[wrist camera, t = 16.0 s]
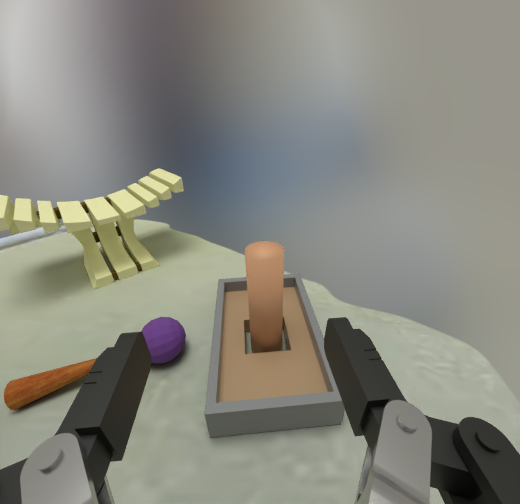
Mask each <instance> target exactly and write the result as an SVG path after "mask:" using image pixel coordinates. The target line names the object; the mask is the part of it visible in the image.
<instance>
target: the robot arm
mask: <svg viewBox="0 0 520 504" xmlns="http://www.w3.org/2000/svg"><path fill="white" fill-rule="evenodd" d="M324 350H325V355H326V358H327V361H328V363H329V366H330V369H331V372H332V374H333V377H334V380H335V383H336V385H337V388H338V391H339V394H340V396H341V399H342V402H343V405H344V408H345V410H346V413H347V416H348V419H349V421H350V424H351V427H352V430H353V432H354V435H355V436H362V435H364V436H365V439H366V441H367V444H368V447H367V450H366V455H365V459H364V464H363V468H362V473H361V477H360V481H359V486H358V490H357V495H356V499H355V503H354V504H430V503H429V495H430V487H433V488H436V489H438V490H439V492H440V494H441V497H442V499H443V501H444V503H445V504H520V454H519V453H518V452H517V451H516V449H515V448H514V447H513V445H512V444H511V443H510V441H509V440H508V439H507V438H506V436H505V435H504V434H503V433H502V432H500V431H499V430H498V429H497V428H496V427H494V426H493V425H491V424H490V423H488V422H486V421H484V420H481V419H479V418H474V417H467V418H464V419H463V420H462V421H461V422H460V423H459V424H455V423H451V422H447V421H443V420H439V419H435V418H431V417H428V416H426V415H424V414H423V413H422V412H421V411H420V410H419V409H418V408H417V407H415V406H414V405H412V404H410V403H408V402H407V401H406V399H405V398H404V396H403V395H402V393H401V391H400V390H399V388H398V386H397V384H396V383H395V381H394V379H393V377H392V376H391V374H390V372H389V371H388V369H387V367H386V365H385V364H384V362H383V360H381V357H380V355H379V353H378V351H376V348H375V346H374V344H373V343H372V341H371V339H370V338H369V337H368V336H367V335H366V334H365V333H364V332H363V331H362V330H361V329H353V328H352V326H351V324H350V322H349V321H348V319H347V318H346V317H343V318H329V319H328V321H327V327H326V332H325V338H324ZM150 368H151V354H150V351H149V349H148V346H147V343H146V340H145V337H144V335H143V333H142V332H132V333H122V334H121V335H120V336H119V338H118V340H117V342H116V344H115V346H114V347H110V348H107V349H106V350H105V351H104V352H103V353H102V354H101V355H100V356H99V357H98V358H97V359H96V361H95V362H94V364H93V366H92V368H91V370H90V372H89V375H87V377H86V379H85V381H84V385H83V386H82V387H81V389H80V390H79V392H78V394H77V396H76V398H75V400H74V402H73V403H72V405H71V407H70V409H69V411H68V413H67V415H66V417H65V418H64V420H63V422H62V424H61V426H60V428H59V429H58V431H57V433H56V434H55V435H54V436H53V437H51V438H49V439H48V440H46V441H45V442H43V443H42V444H41V445H40V446H38V447H37V448H36V449H35V450H34V451H33V453H32V454H31V455H30V456H29V458H26V459H24V460H22V461H20V462H17V463H15V464H13V465H10V466H8V467H6V468H3V469H1V470H0V504H115V503H114V499H113V496H112V493H111V489H110V486H109V483H108V480H107V477H106V473H107V470H108V467H109V464H110V462H111V461H120V460H122V458H123V455H124V452H125V449H126V445H127V442H128V439H129V436H130V433H131V429H132V426H133V423H134V420H135V417H136V413H137V410H138V407H139V404H140V401H141V397H142V394H143V391H144V388H145V385H146V381H147V378H148V375H149V372H150Z"/></svg>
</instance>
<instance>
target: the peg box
mask: <svg viewBox="0 0 520 504" xmlns="http://www.w3.org/2000/svg"><path fill="white" fill-rule="evenodd" d="M282 329H284V333H285V338H286V343H287V347H288V350H287V351H276V352H264V353H253V354H246V349H245V332H250V321H249V306H248V291H247V277H245V278H231V279H219V281H218V291H217V300H216V310H215V319H214V329H213V339H212V348H211V358H210V367H209V377H208V386H207V396H206V406H205V418H206V422H207V426H208V430H209V434H210V438H213V437H223V436H232V435H242V434H251V433H261V432H271V431H280V430H290V429H300V428H309V427H319V426H328V425H338V424H341V422H342V418H343V414H344V411H345V408H344V405H343V402H342V399H341V396H340V394H339V391H338V388H337V385H336V383H335V380H334V377H333V374H332V372H331V369H330V366H329V363H328V361H327V358H326V355H325V350H324V338H323V335H322V332H321V330H320V327H319V324H318V322H317V319H316V316H315V314H314V311H313V308H312V306H311V303H310V300H309V298H308V295H307V293H306V290H305V287H304V285H303V282H302V279H301V277H300V274H288V275H284V279H283V323H282Z"/></svg>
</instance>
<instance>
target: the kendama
mask: <svg viewBox="0 0 520 504" xmlns="http://www.w3.org/2000/svg"><path fill="white" fill-rule="evenodd" d="M141 332H142V333H143V335H144V337H145V340H146V343H147V346H148V349H149V351H150V354H151V362H152V363H165V362H168V361H170V360H173V359H174V358H175V357H176V356H177V355H178V354H179V353H180V352H181V350H182V348H183V347H184V345H185V337H186V334H185V331H184V328H183V326H182V325H181V324H180V323H179V322H178V321H177V320H174V319H172V318H170V317H160V318H157V319H154V320H151V321H150V322H149V323H148V324H147V325H145V326H144V328H143V329H142V331H141ZM96 359H97V358H96ZM96 359H92V360H89V361H85V362H81V363H77V364H73V365H69V366H66V367H62V368H58V369H54V370H50V371H47V372H43V373H39V374H35V375H31V376H28V377H24V378H20V379H16V380H13V381H10V382H9V383H8V384H7V386H6V388H5V391H4V400H5V403H6V405H7V407H9V408H10V409H12V410H16V409H18V408H20V407H22V406H24V405H26V404H28V403H30V402H33V401H35V400H37V399H39V398H41V397H43V396H45V395H47V394H49V393H51V392H53V391H55V390H57V389H59V388H61V387H63V386H65V385H67V384H69V383H71V382H73V381H76V380H78V379H80V378H82V377H84V376H86V375H88V374H89V372H90V370H91V368H92V366H93V364H94V362H95V361H96Z"/></svg>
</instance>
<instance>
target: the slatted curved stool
mask: <svg viewBox="0 0 520 504" xmlns="http://www.w3.org/2000/svg"><path fill="white" fill-rule="evenodd" d="M127 188H128V192H127V191H126V190H121V191H119V192H116V193H113V194H110V195H107V197H108V198H104V197H99V198H95V199H89V200H84V202H83V203H80V202H79V201H71V202H57V205H58V208H53V206H52V204H51V202H50V201H38V208H39V211H38V212H37V211H36V209H35V207H34V205H33V203H32V201H31V199H21V198H16V202H15V206H14V204H13V203H12V201H11V199H10V198H9V197H8V196H3V195H0V231H3V230H9V231H10V233H11V234H12V236H13V235H15V234H17V233H19V232H20V233H22V232H27V231H31V230H36V228H37V227H43V229H44V231H45V233H48V232H52V231H56V230H59V227H60V228H62V227H61V224H60V221H59V219H61V218H62V219H63V222H64V224H65V227H66V229H67V231H68V233H72V234H73V235H74V236H75V237H76V238H77V239H78V240H79V241H80V243H81V244H82V245H83V248H84V265H85V268H86V270H87V273H88V276H89V278H90V281H91V283H92V286H93V289H97V288H100V287H102V286H105V285H108V284H111V283H113V282H115V281H114V280H116V279H119V280H122V279H124V278H127V277H130V276H132V275H135V274H138V271H141V270H142V271H146V270H149V269H151V268H154V267H157V266H160V264H159V263H158V262H157V261H156V260H155V259H154V257H153V256H152V255H151V254H150V253H149V252H148V251H147V250H146V248H145V247H144V246H143V245H142V244H141V243H140V242H139V241H138V239H137V238H136V236H135V233H134V218H135V216H139V215H143V214H146V210H145V206H144V205H146V206H148V207H149V208H152V207H157V206H159V202H158V199H160V200H167V199H171V198H172V196H171V191H173V192H175V193H177V192H182V191H184V190H183V184H182V178H181V177H179V176H176V175H174V174H172V173H169V172H167V171H164V170H162V169H156V170H154V171H152V172H150V173H149V177H148V176H146V177H144V178H142V179H140V180H139V185H138V184H136V183H134V184H132V185H130V186H128V187H127ZM86 213H89V215H90V218H91V220H90V219H89V217H88V215H87V214H86ZM91 221H92V223H93V225H92V223H91ZM115 221H116V224H117V226H116V227H115V225H114V222H115ZM93 226H94V228H95V231H96V232H93V233H92V231H91V227H93ZM119 236H121V238H122V241H123V243H124V245H125V247H126V249H127V250H128V252H129V253H130V255H131V256H132V257H133V259H134V260H135V261H136V263H134V262H133V261H132V259H131V258H130V256H129V255H128V253H127V252H126V250H125V248H124V246H123V245H122V243H121V241H120V238H119ZM97 242H100V244H101V246H102V248H103V250H104V253H105V255H106V257H107V258H108V260H109V262H110V264H111V266H112V267H113V269H114V270H113V271H110V270H109V268H108V266H107V264H106V262H105V260H104V258H103V256H102V254H101V252H100V250H99V248H98V246H97Z"/></svg>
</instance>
